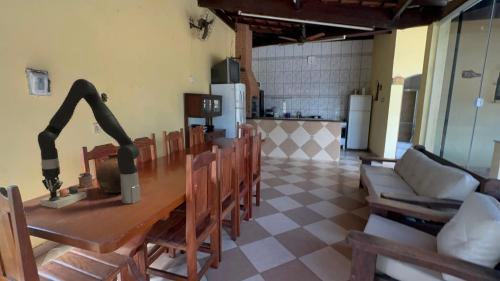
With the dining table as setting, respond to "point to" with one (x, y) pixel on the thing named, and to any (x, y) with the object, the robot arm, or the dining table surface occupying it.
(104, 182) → the pottery
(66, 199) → the control panel
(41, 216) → the dining table surface
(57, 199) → the black knob left
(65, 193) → the terracotta knob middle
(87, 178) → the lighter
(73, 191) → the black knob right
